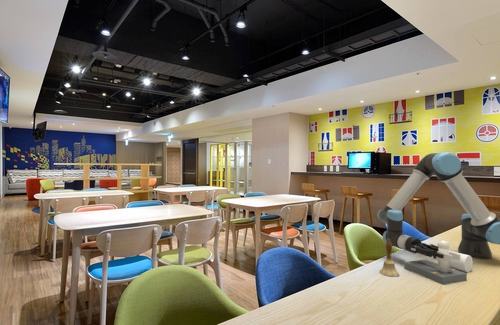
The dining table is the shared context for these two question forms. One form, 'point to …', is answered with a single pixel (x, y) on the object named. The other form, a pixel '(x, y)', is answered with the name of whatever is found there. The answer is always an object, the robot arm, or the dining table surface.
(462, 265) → the mug
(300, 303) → the dining table surface
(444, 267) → the lever
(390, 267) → the hand bell
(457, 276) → the console
